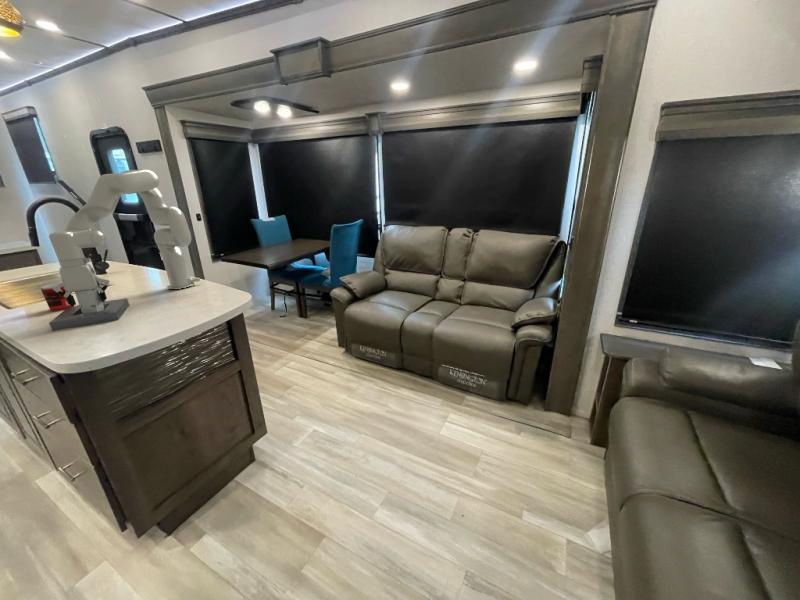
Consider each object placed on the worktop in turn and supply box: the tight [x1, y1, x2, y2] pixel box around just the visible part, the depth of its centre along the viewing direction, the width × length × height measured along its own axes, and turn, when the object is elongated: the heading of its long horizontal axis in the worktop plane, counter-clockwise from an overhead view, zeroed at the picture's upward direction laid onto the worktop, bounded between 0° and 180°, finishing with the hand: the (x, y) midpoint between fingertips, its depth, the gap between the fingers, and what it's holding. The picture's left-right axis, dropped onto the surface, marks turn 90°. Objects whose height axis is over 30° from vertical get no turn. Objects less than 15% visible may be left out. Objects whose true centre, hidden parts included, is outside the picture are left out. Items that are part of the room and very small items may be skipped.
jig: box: [48, 297, 130, 332], centre depth 133 cm, size 20×20×4 cm
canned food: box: [40, 282, 71, 312], centre depth 144 cm, size 8×8×11 cm
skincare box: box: [74, 289, 105, 314], centre depth 132 cm, size 6×4×12 cm
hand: (89, 303), depth 132 cm, fingers open, 9 cm apart
